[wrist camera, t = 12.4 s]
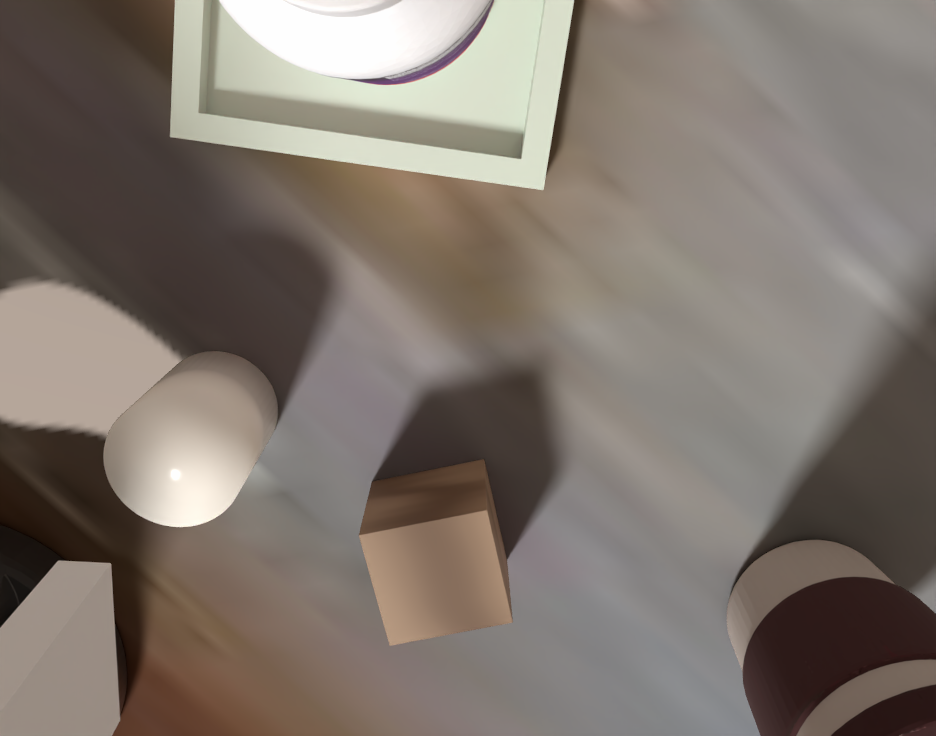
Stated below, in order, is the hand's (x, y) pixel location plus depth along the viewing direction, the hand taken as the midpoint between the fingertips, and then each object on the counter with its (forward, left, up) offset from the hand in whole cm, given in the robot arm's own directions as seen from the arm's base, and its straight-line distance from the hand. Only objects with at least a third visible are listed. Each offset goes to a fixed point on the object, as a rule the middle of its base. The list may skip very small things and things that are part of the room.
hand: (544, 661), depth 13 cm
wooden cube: (-1, -10, -23) cm, 25 cm away
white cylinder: (-11, -6, -23) cm, 26 cm away
